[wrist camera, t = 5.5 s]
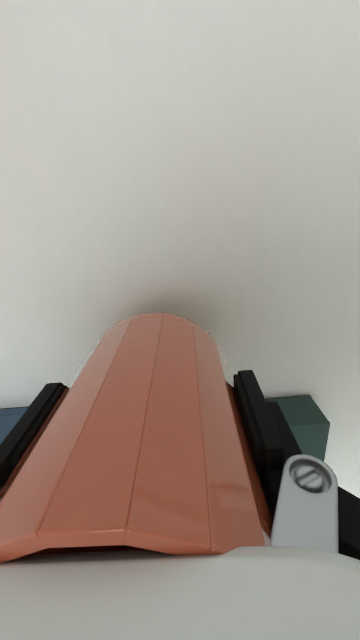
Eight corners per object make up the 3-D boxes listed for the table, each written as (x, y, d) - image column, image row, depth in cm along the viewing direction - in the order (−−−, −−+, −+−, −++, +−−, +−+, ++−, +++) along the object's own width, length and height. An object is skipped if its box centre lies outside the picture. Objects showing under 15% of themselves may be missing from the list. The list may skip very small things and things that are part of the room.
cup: (225, 306, 12) (315, 521, 4) (227, 424, 15) (285, 705, 6) (75, 318, 12) (-140, 541, 4) (103, 432, 15) (6, 710, 7)
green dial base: (310, 394, 21) (331, 424, 18) (298, 492, 25) (314, 529, 22) (181, 405, 21) (182, 436, 18) (190, 500, 25) (192, 538, 23)
